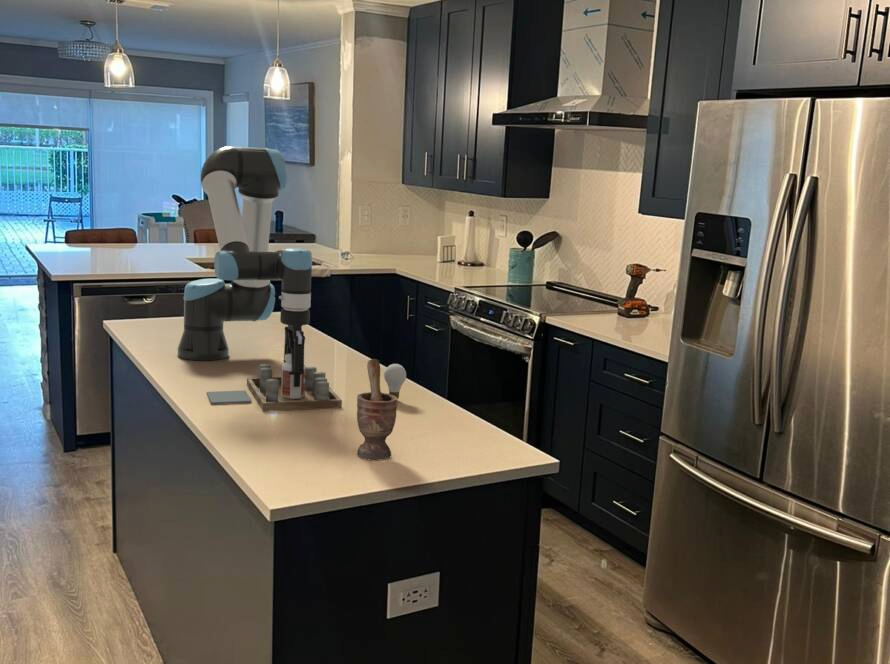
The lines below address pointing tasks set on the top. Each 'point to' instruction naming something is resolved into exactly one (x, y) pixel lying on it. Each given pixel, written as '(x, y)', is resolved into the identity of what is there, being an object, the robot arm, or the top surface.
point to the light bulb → (395, 378)
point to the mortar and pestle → (375, 416)
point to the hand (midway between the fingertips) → (292, 394)
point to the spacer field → (271, 387)
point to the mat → (228, 397)
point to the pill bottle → (289, 378)
